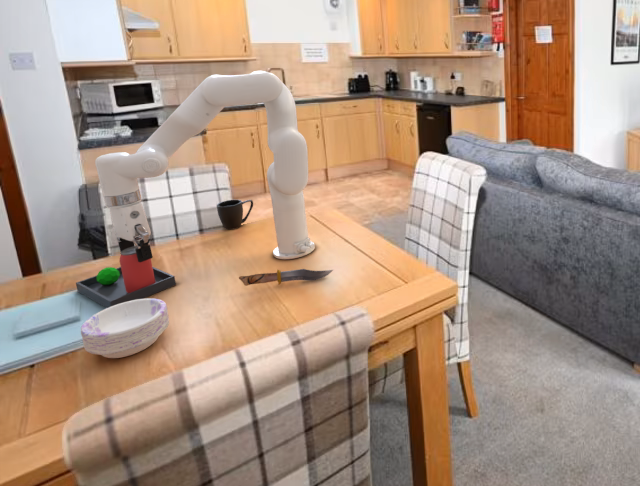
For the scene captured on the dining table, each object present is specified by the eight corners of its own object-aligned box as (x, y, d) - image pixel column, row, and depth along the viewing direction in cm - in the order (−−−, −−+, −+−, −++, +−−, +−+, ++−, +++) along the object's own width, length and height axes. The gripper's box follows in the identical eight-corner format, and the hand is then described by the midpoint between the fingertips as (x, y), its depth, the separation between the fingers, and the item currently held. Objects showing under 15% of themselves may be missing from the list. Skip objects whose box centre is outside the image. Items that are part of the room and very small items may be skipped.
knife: (334, 276, 137) (333, 260, 136) (334, 278, 136) (332, 262, 135) (241, 290, 130) (239, 274, 129) (240, 293, 129) (237, 276, 128)
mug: (258, 223, 179) (255, 200, 176) (223, 232, 171) (219, 208, 169) (252, 218, 184) (249, 195, 182) (218, 226, 176) (214, 203, 174)
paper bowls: (187, 332, 111) (181, 302, 110) (116, 374, 97) (109, 341, 96) (143, 320, 116) (137, 292, 115) (71, 359, 102) (63, 327, 101)
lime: (107, 288, 130) (104, 273, 129) (93, 287, 131) (90, 272, 130) (125, 280, 135) (122, 265, 134) (112, 278, 136) (108, 263, 135)
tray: (176, 284, 134) (174, 276, 133) (112, 311, 121) (110, 301, 120) (140, 268, 144) (138, 260, 143) (77, 291, 131) (75, 282, 130)
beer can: (137, 283, 133) (129, 245, 130) (161, 282, 134) (153, 243, 131) (120, 295, 127) (111, 255, 124) (145, 294, 127) (137, 254, 125)
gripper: (155, 198, 123) (168, 257, 127) (124, 190, 132) (137, 245, 136) (121, 207, 117) (136, 269, 121) (91, 198, 125) (106, 256, 129)
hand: (137, 256), depth 128 cm, fingers open, 9 cm apart
